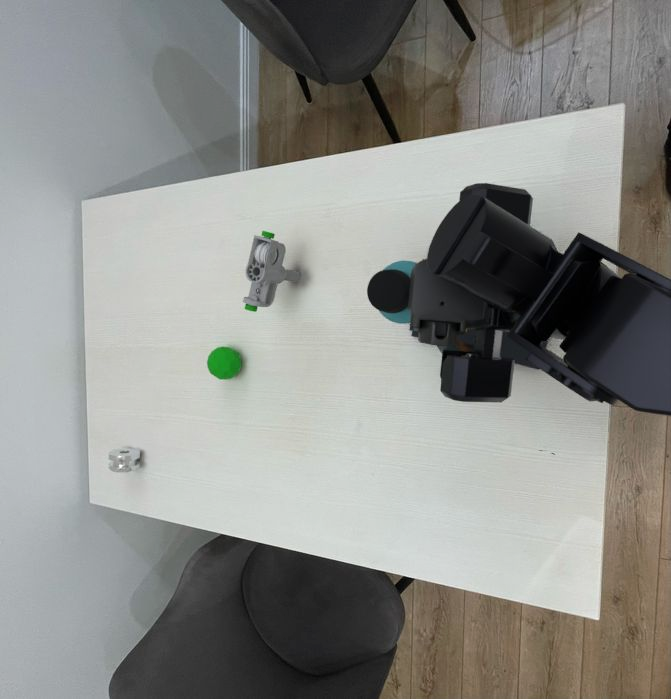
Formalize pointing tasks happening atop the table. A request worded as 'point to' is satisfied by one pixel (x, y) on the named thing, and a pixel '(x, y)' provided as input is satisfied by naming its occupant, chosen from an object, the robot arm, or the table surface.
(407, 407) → the table surface
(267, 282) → the mechanical component
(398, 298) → the beverage bottle
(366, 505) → the table surface
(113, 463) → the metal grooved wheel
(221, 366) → the polyhedron
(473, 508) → the table surface
